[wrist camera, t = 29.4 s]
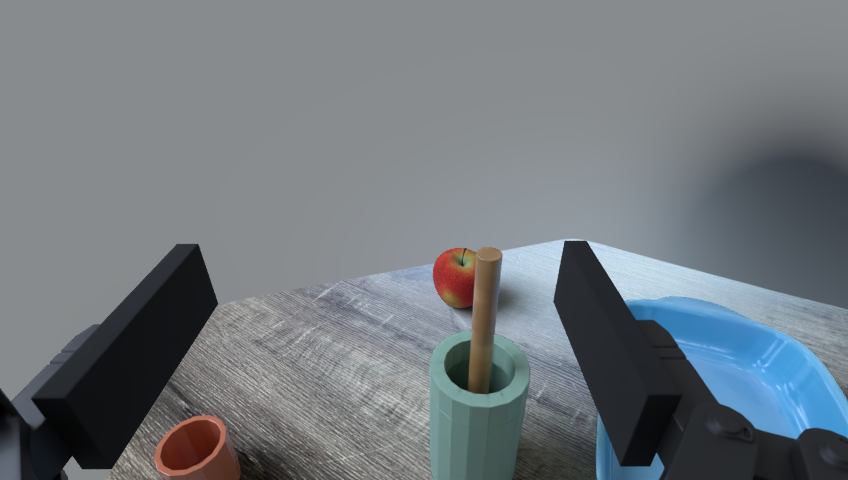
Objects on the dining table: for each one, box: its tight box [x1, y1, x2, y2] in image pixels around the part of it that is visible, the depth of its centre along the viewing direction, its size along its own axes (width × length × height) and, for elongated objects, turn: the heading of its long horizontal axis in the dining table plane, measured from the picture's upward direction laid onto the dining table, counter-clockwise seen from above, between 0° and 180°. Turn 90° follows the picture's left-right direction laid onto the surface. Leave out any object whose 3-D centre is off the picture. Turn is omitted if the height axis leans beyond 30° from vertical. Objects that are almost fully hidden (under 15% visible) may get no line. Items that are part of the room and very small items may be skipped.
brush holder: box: [154, 415, 241, 480], centre depth 40 cm, size 6×6×6 cm
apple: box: [433, 248, 476, 308], centre depth 62 cm, size 8×8×10 cm
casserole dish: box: [596, 297, 848, 480], centre depth 40 cm, size 37×22×7 cm, turn 159°
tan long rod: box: [466, 247, 502, 394], centre depth 36 cm, size 4×4×24 cm
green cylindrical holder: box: [430, 330, 530, 480], centre depth 39 cm, size 8×8×14 cm
